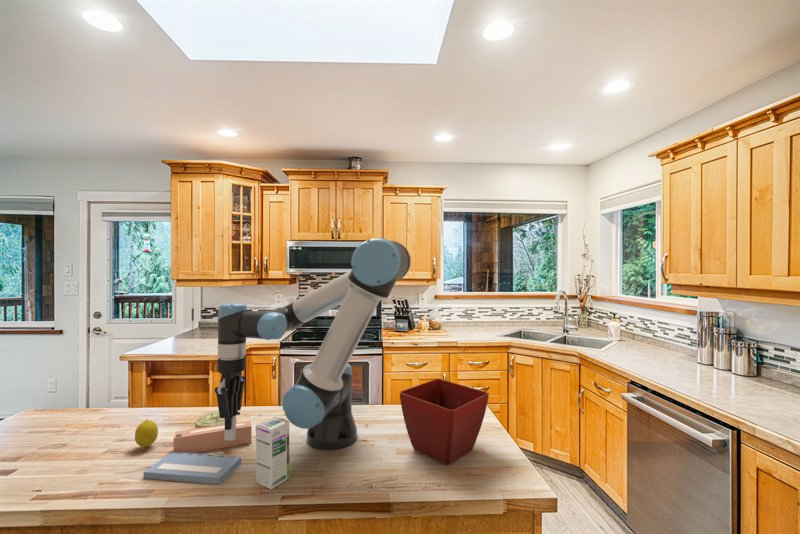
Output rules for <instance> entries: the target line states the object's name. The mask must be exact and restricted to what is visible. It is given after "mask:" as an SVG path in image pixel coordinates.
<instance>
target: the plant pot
mask: <svg viewBox="0 0 800 534" xmlns="http://www.w3.org/2000/svg"><path fill="white" fill-rule="evenodd" d="M489 396H490V394H489V392H486V391H484V390H480V389H476V388H474V387H470V386H468V385H462V384H460V383H459V384H458V383H456V382H452V381H448V380H445V379H441V378H435V379H432V380H430V381H429V380H428V381H425V382H424V383H421V384H419V385H418V384H417V385H414V386H413V387H409V388H407V389H403V390H401V391H399V400H400V405H401V412H402V416H403V420H404V424H405V427H406V431H407V435H408V438H409V440H410V443H411V446H412V449H413V450H414V451H416V452H417V453H420V454H422V455H424V456H427V457H428V458H430V459H432V460H435V461H437V462H439V463H441V464H443V465H446V466H447V465H448V466H449V465H451V464H452V463H454V462H456V461H458V460H459V459H461V458H462V457H464V456H465V455H467V454H468V453H470V452H472V450H473V449H474V447H475V444H476V442H477V439H478V437H479V434H480V431H481V429H482V425H483V421H484V418H485V414H486V410H487V407H488V402H489V401H488V400H489Z"/></svg>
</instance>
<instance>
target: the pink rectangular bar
mask: <svg viewBox="0 0 800 534" xmlns="http://www.w3.org/2000/svg"><path fill="white" fill-rule="evenodd" d="M252 430H253V429H252V420H251V419H250V420H243V421H236V439H235V440H233V441H232V440H224V431H225V424H223V425H216V426H209V427H203V428H191V429H185V430H178V431H175V433H174V436H173V451H172V452H180V453H194V454H197V453H200V452H201V453H202V452H207V451H213V450H218V449H223V448H231V447H235V446H241V445H247V444H251V443H252Z"/></svg>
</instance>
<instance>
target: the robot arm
mask: <svg viewBox="0 0 800 534" xmlns="http://www.w3.org/2000/svg"><path fill="white" fill-rule="evenodd" d="M411 261H412V260H411V255H410V252H409V251H408V249H407V248H406V247H405V246H404V245H403V244H402V243H400V242H398V241H394V240H390V239H386V238H384V237H383V238H382V237H378V238H377V237H373V238H370V239H366V240H365V241H363V242H362V243H360V244H359V245H358V246H357V247H356V248H355V250H354V251H353V253H352V256H351V270H349V271H348V272H346V273H344V274H342V275H340V276H338V277H336V278H335V279H333V280H330V281H329V282H327V283H325V284H323V285H322V286H320V287H318V288H317V289H315V290H312V291H311V292H309V293H307V294H305V295H304V296H301V297H300V298H297V299H296V300H294V301H293V302H291V303H289V304H287V305H285V306H283V307H278V308H275V309H270V310H265V311H251V310H248V306H247V304H246V303H244V302H243V303H242V302H231V303H230V302H229V303H228V302H227V303H222V304H221V305H220V306H218V307H219V308H218V316H217V335H218V336H217V357H218V359H217V360H216V362H217V363H216V370H217V372H218V373H219V374H220V375H221V377H220V379H219V381H220V385H219V386H216V387H215V388H214V393H215V396H216V398H217V406H218V407H217V408H218V412H219V416H220V418H224V419H225V431H224V440H232V441H233V440H235V439H236V422H237V416H240V415H241V410H242V405H243V403H242V402H243V396H244V388H245V384H246V383H245V382H246V379H247V375H242V372H244V371H245V370H246V366H247V365H246V364H247V362H246V361H247V358H246V357H245V356H246V355H247V339H259V340H267V341H270V340H281V338H282V337H283V336H284V335H285V334H286V332H289V331H294V330H297V329H299V328H301V327H302V325H304V324H306V323H307V322H310V321H311V320H313V319H315V318H317V317H319V316H321V315H323V314H324V313H327V312H329V311H331V310H332V309H334V308H336V307H338V306H340V307H339V308H338V310H337V312H336V314H335V316H334V318H333V321H332V322H331V324H330V327H329V328H328V331H327V333H326V335H325V336H324V339H323V341H322V343H321V345H320V347H319V348H318V351H317V352H316V355H315V357H314V359H313V361H312V363H309V364H306V365H305V366H304V367H303V368H302V371H301V372H300V374H299V376H298V379H297V380H296V382H295V384H294V385H293V386H291V387H289V388H288V389H287V390H286V392H285V393H284V395H283V398H282V402H281V403H282V410H283V411H284V415H285V417H286V419H287V421H289V423H291V424H292V425H293V426H295V427H297V428H299V429H305V430H306V431H307V432H306V442H307V444H309V446H310V447H313V448H315V449H320V450H337V449H341V448H345V447H347V446H350V445H351V444H354V443H355V442H356V440H357V438H358V428H357V425H356V422H355V419H354V416H353V411H352V405H353V404H352V402H353V401H352V399H353V398H352V395H353V392H352V391H353V387H352V386H353V371H352V370H353V369H352V366H351V364H349V362H350V360H351V359H352V357H353V354H354V352H355V351H356V349H357V346H358V344H359V342H360V341H361V338H362V337H363V335H364V333H365V331H366V329H367V326H368V325H369V322H370V321H371V320H372V319H371V318H372V317H373V315H374V313H375V311H376V309H377V307H378V305H379V303H380V302H381V301H383V300H386V299H388V298H389V296H390V294H391V293H392V290H393V288H394V286H395V284H396V282H398V281H400V280H402V279H403V278H404V277H405V276H406V275H407V274H408V273H409V271H410V268H411Z"/></svg>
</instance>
